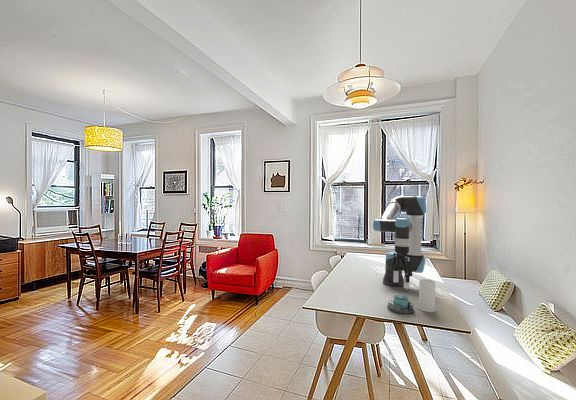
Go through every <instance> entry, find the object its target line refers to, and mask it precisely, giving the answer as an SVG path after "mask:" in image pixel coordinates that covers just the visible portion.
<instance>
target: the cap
mask: <svg viewBox="0 0 576 400" xmlns="http://www.w3.org/2000/svg"><path fill="white" fill-rule="evenodd" d="M408 301H410V300H409V297H407V296H406V295H404V294H395V295H393V298H392V303H394V304H397V305H401V310H408Z"/></svg>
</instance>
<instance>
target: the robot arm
mask: <svg viewBox="0 0 576 400" xmlns="http://www.w3.org/2000/svg"><path fill="white" fill-rule="evenodd" d="M427 211H428V210H427V201H426V198H425V196H421V195H398V196H395V197H393V198H392V199H390V200H389V201H388V202H387V204H386V208H385V210H384V211H383V214H382V215H381V216H380V218H376V219H374V220H373V222H372V229H373V230H374V231H375V232H380V233H381V232H382V233H394V245H395V246H394V251H390V252H389V251H388V252H386V254H385V272H384V275H383V278H382V284H384V285H386V286H389V287H396V288H397V287H403V288H404V289H410V280H411V279H410V278H411V277H413V273H416V274H421V273H423V272H424V270H425V265H426V261H427V260H426V259H427V257H426V256H424V253H423V252H422V220H423V219H422V218H423V217H424V216H425V214H427ZM400 212H401V213H405V215H406V217H408V218H405V217H396V216H397V214H398V213H400ZM395 218H396V219H395ZM403 272H404V275H403Z"/></svg>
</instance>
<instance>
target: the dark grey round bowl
mask: <svg viewBox="0 0 576 400" xmlns="http://www.w3.org/2000/svg"><path fill="white" fill-rule="evenodd" d="M414 305H415V303H414V302H413V301H411V300H409V301H408V310H401V305H397V304H394V303H393V298H389V299H388V300H387V309H388V310H389V311H390V312H393V313H395V314H399V315H411V314H414V312H415V308H414V307H415V306H414Z"/></svg>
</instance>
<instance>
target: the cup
mask: <svg viewBox="0 0 576 400" xmlns="http://www.w3.org/2000/svg"><path fill="white" fill-rule="evenodd" d="M418 281H419V283H418V284H419V287H418V289H419V290H418V309H419V310H421V311H422V312H426V313H434V312H436V286H437V285H436V283H437V282H436V281H434V280H432V279H426V278H420V279H419V280H418Z"/></svg>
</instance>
